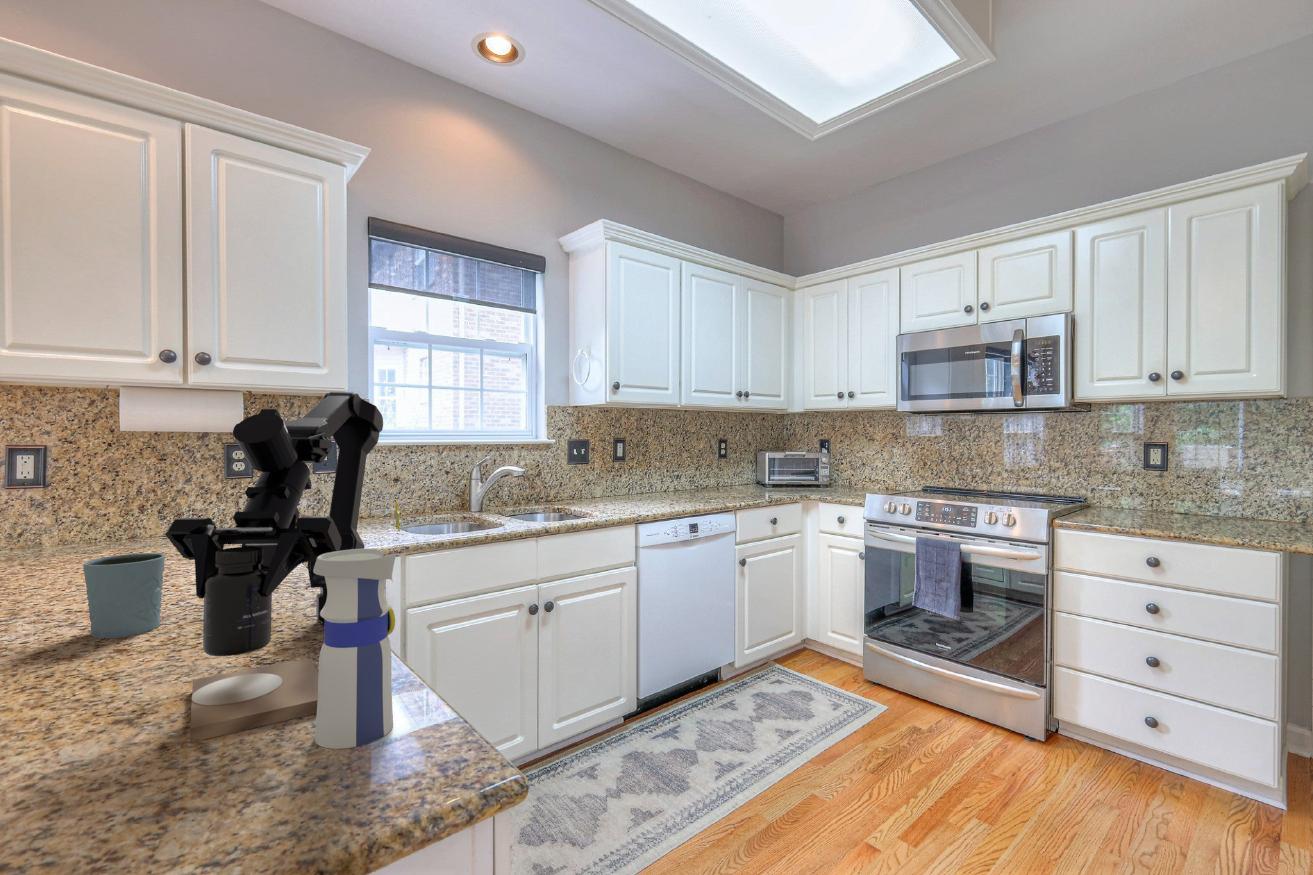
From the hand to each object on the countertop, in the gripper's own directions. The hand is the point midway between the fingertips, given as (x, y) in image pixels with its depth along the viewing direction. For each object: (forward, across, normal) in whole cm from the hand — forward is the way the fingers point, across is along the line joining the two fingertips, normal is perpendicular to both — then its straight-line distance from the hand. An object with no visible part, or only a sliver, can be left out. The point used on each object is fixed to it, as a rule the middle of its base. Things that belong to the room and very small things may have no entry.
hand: (232, 596), depth 72 cm
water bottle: (+15, -17, -4) cm, 23 cm away
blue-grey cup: (-14, +33, -33) cm, 49 cm away
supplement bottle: (+4, 0, -6) cm, 7 cm away
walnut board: (+8, -2, -10) cm, 13 cm away
